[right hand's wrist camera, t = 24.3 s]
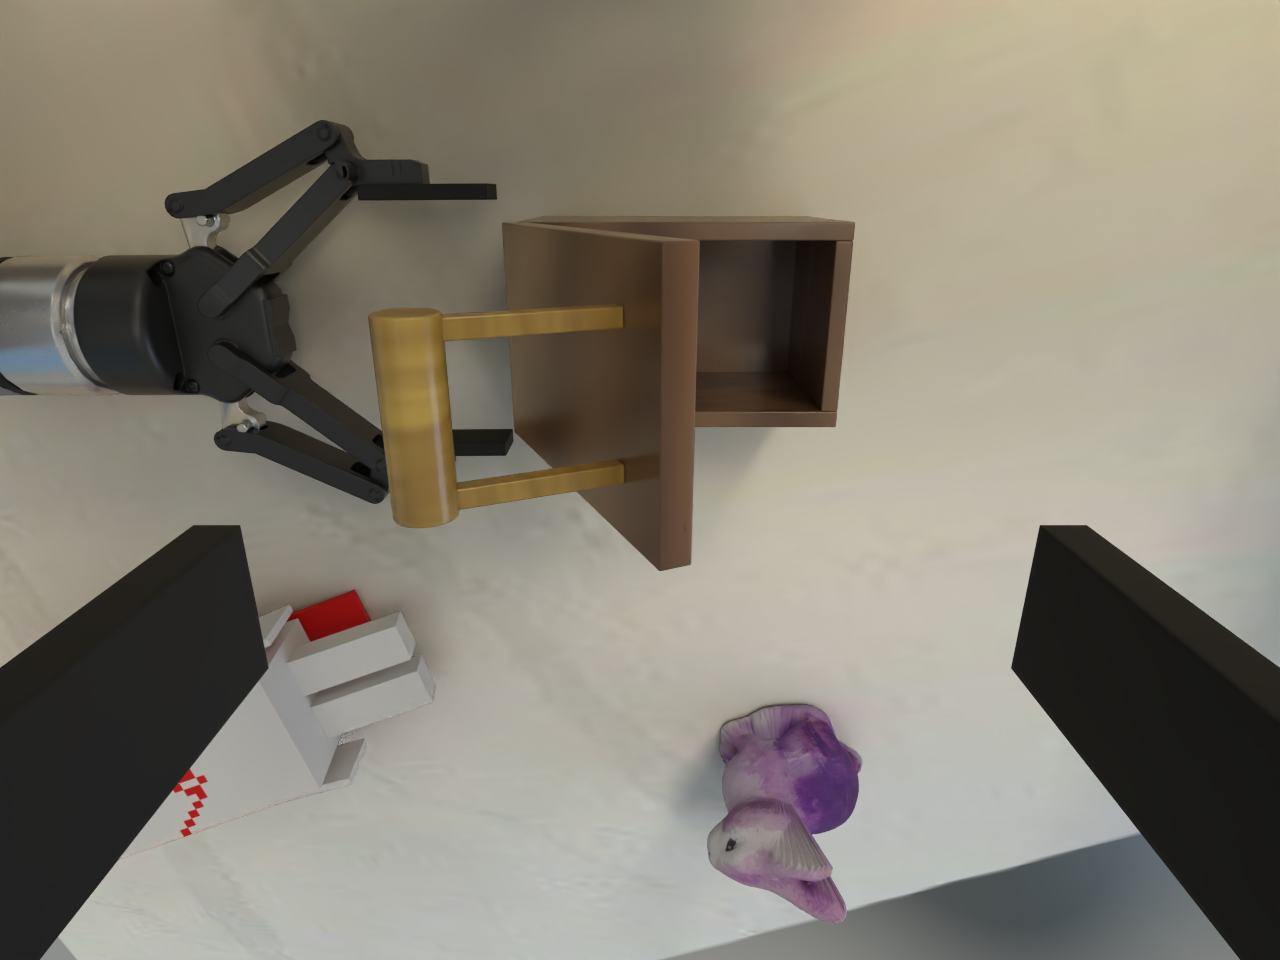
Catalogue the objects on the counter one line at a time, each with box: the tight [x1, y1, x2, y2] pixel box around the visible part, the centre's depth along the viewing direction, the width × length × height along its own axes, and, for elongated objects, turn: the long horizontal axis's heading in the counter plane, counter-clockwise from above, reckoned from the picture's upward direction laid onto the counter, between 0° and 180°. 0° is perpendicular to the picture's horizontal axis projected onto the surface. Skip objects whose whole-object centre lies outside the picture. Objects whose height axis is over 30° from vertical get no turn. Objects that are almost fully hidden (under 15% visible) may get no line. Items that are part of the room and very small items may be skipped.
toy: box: [118, 590, 436, 860], centre depth 53 cm, size 12×13×30 cm
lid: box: [368, 222, 700, 571], centre depth 29 cm, size 17×10×9 cm
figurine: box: [707, 705, 862, 924], centre depth 53 cm, size 9×10×15 cm
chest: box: [520, 216, 855, 427], centre depth 43 cm, size 16×10×10 cm, turn 90°
